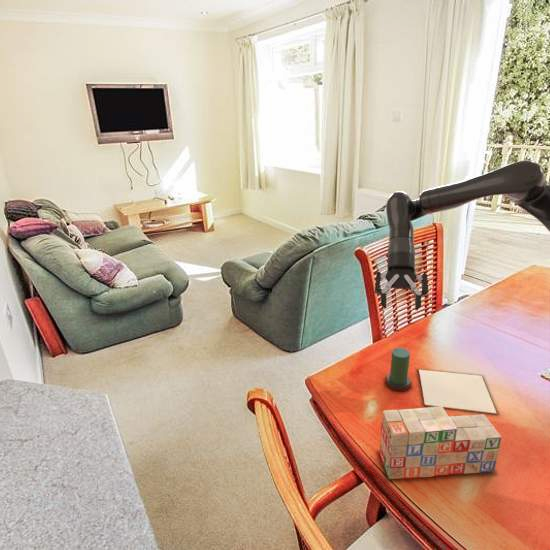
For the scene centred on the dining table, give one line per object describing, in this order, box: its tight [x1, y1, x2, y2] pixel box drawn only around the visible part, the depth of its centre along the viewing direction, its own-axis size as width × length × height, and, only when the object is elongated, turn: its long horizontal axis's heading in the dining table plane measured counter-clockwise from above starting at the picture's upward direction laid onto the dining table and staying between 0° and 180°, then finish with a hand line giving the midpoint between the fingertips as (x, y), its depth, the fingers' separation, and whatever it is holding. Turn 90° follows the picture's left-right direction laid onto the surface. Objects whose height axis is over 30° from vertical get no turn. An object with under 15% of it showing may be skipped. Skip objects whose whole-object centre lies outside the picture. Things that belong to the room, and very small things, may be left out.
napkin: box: [418, 369, 498, 415], centre depth 97 cm, size 16×14×1 cm
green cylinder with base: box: [385, 347, 411, 392], centre depth 98 cm, size 6×6×10 cm
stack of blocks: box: [379, 406, 502, 480], centre depth 75 cm, size 21×6×12 cm, turn 92°
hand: (400, 308), depth 104 cm, fingers open, 8 cm apart
